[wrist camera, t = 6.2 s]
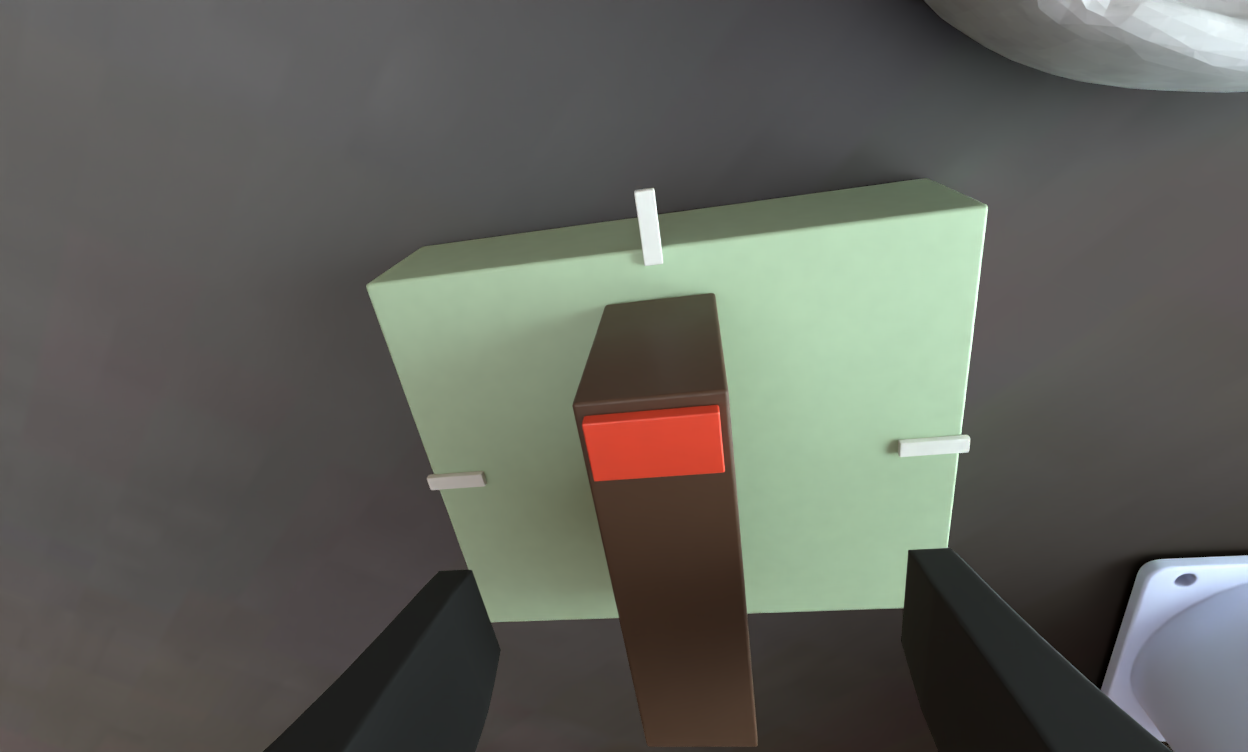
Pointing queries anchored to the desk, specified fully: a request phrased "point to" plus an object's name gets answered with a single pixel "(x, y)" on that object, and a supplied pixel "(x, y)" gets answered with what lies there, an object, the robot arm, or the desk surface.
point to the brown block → (671, 516)
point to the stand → (756, 375)
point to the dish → (1115, 39)
